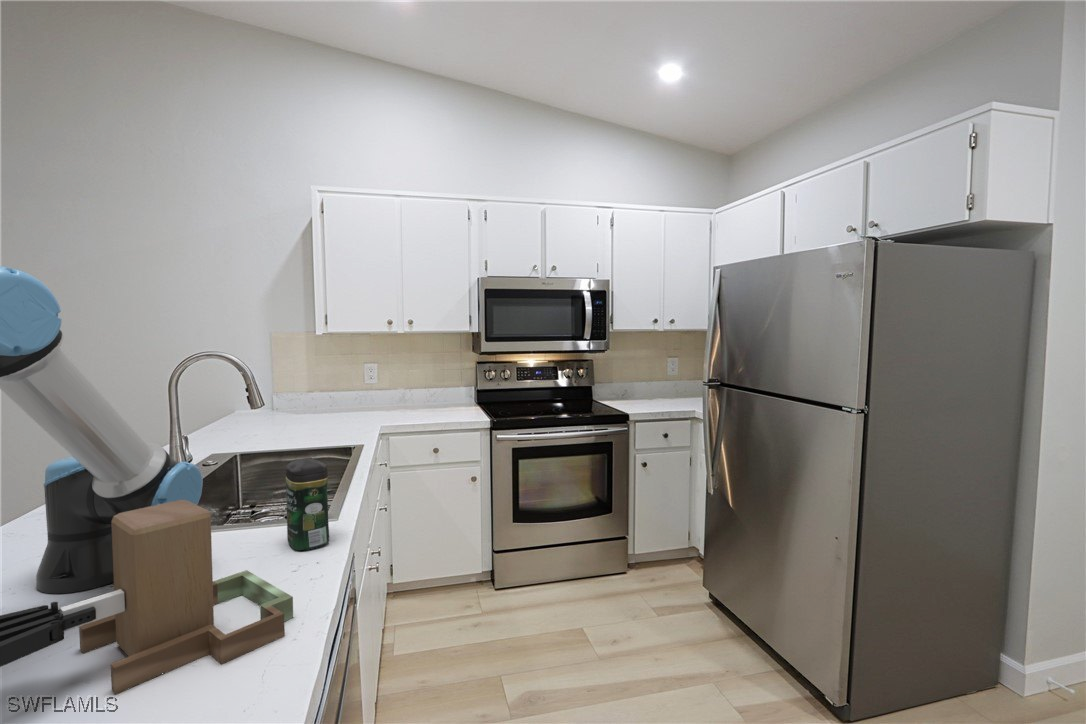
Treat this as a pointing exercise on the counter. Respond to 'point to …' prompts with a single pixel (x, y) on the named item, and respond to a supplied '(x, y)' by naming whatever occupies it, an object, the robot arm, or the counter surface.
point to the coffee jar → (307, 504)
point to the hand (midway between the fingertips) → (122, 600)
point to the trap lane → (198, 633)
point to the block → (162, 573)
